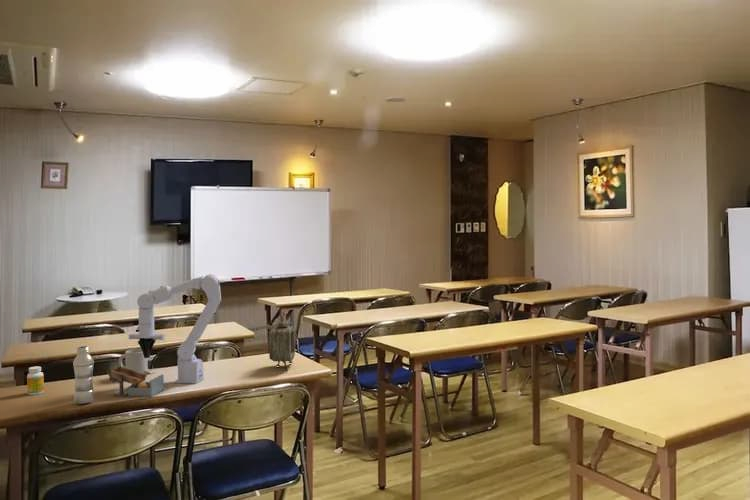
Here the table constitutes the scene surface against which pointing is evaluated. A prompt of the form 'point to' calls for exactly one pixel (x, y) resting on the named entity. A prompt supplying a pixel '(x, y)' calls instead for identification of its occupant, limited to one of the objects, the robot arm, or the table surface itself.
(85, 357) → the plastic bottle
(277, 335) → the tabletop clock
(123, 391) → the stand
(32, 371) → the supplement bottle
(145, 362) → the mug
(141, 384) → the ball
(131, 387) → the grey open box
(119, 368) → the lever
